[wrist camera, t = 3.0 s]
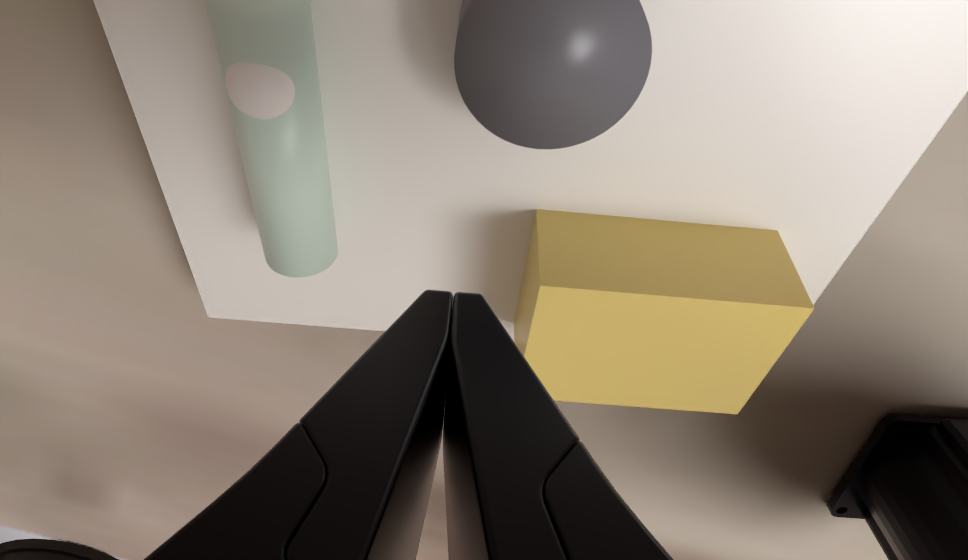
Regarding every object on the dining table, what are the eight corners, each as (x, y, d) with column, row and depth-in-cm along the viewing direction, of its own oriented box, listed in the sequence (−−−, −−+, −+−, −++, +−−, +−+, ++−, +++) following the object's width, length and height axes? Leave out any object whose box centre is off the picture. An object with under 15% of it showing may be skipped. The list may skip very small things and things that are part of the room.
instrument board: (760, 329, 23) (800, 436, 20) (222, 286, 22) (174, 390, 19) (1035, -91, 13) (1206, -9, 10) (67, -203, 12) (-92, -154, 9)
